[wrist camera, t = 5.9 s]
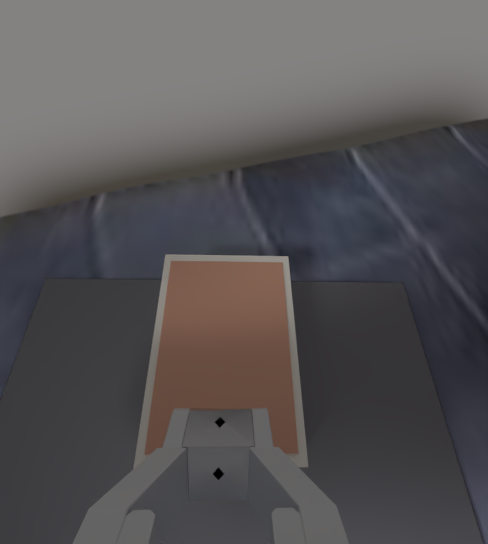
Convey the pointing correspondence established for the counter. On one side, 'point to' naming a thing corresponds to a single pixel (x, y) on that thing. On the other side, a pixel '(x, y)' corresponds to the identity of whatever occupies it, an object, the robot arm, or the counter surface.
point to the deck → (224, 347)
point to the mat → (316, 410)
